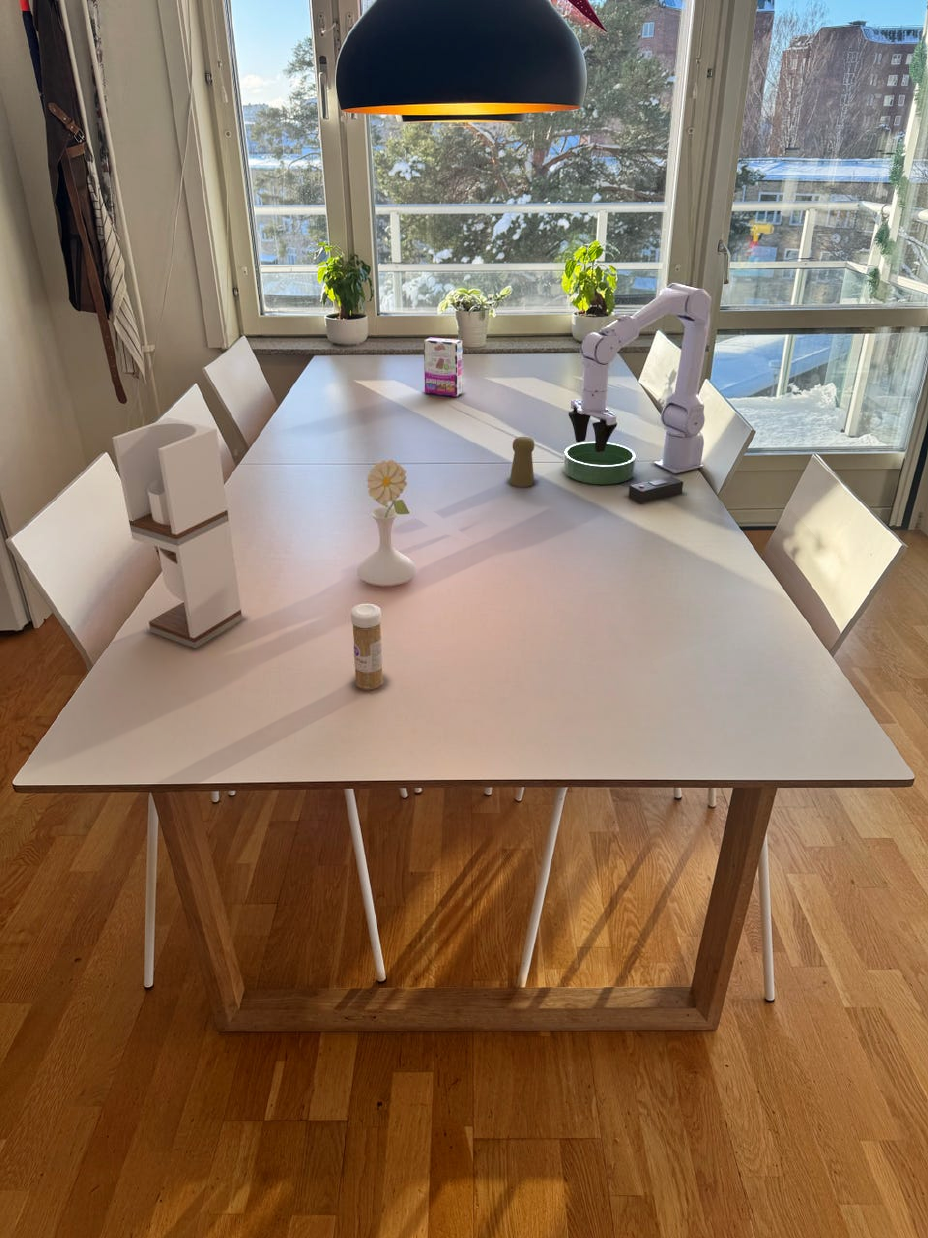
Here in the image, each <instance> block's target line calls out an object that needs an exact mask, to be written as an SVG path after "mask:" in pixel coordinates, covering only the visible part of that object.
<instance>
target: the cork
mask: <svg viewBox="0 0 928 1238" xmlns="http://www.w3.org/2000/svg"><path fill="white" fill-rule="evenodd" d="M512 450H513V451H514V453H513V458H512V465H511V471H510V476H509V484H510V485H512V486H514V487H519V488H526V487H527V488H528V487H531V486H533V485H534V484H535V476H534V474H535V473H534V463H533V462H534V461H533V451H534V450H535V441H534V439H532V438H531V437H528V436H518V437H516V438H515V439H514V440H513V441H512Z"/></svg>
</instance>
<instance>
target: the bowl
mask: <svg viewBox="0 0 928 1238" xmlns="http://www.w3.org/2000/svg"><path fill="white" fill-rule="evenodd" d="M563 455H564V456H563V473H564V474H565V475H566V476H568V477H569V478H571V479H573V480H575V481H578V482H581V483H584V484H585V483H586V484H588V485H599V486H603V485H604V486H605V485H606V486H608V485H615V484H620V483H624V482H626V481H628V480H630V479H632V478H633V476H634V474H635V469H636V468H635V467H636V460H637V459H636V458H637V455H636V453H635V452H634V451H633V450H632V449H631V448H628V447H626V446H624V445H620V444H617V443H612V442H607V445H606V448H605V450H604V451H602V452H596V450H595V441H586V442H585V441H584V442H577V443H575V444H572V445H570V446H568V447H566V449H565V450H564V454H563Z"/></svg>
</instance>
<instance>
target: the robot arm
mask: <svg viewBox="0 0 928 1238" xmlns="http://www.w3.org/2000/svg"><path fill="white" fill-rule="evenodd" d="M712 301H713V298H712V296H711V295H710V294H709V293H708V292H707V290H704V289H702V288H695V287H691V286H687V285H684V284H680V283H678V282H672V283H669V284H668V285H667V286H666V287H664V288H662V289H661V290H660V292H659V295H657V297H655V298H654V299H652V300H651V301H650V302H648V303H647V304H646V305H644V306H643V307H642V308H641V309H640V310H638V311H636V312H635V313H634V314H633V315H628V314H624V315H623V314H620V315H618V316H617V317H616V320H615V321H613V322H611V323H610V324H609V325H607V326H603V327H602V328H600V330H599V331H598V332H593V331H592V332H591V333H588V334H587V335H586V336H585V337H584V338H583V339H582V341H581V344H580V345H579V347H578V348H579V349H578V350H579V353H580V355H581V357H582V364H583V371H582V372H583V373H582V385H581V386H582V387H581V399H579V398H577V399H571V400H570V409H571V410H572V411H568V417H569V419H570V421H571V424H572V427H573V432H574V438H575V442H576V443H584V442H585V441H586V438H587V433H588V426H589V423H590V419H591V417H592V418H595V419H597V420H599V421H596V422H592V424H591V425H592V428H593V430H594V438H595V439H594V440H595V441H594V442H595V450H596V452H602V451H604V450H605V448H606V445H607V443H609V442H608V441H609V440H610V437H611V435H612V433H614V430H615V429H616V428H617V427H618V422H617V415H616V414H614V413H613V412H612V411H611V410H610V409H608V408H607V401H608V391H609V390H608V388H609V379H610V366H611V362H613V361H614V359H615V358H616V356H617V354H618V352H620V350H621V349H622V348H624V347H625V346H627V345H628V344H630V343H631V342H633V341H634V340H636V339H637V338H639V335H640V331H641V330H642V329H644V328H646V327H647V326H649V325H651V324H652V323H654V322H656V321H658V320H660V319H662V318H663V317H665V316H666V315H673V316H675V317H677V318H678V320H680V322H681V324H683V326H684V332H683V339H682V344H681V351H680V356H679V363H678V368H677V375H676V381H675V388H674V392H673V393H672V394H670V395H668V396H667V397H666V400H665V405H664V407H663V408H662V410H661V415H660V420H661V423H662V425H664V431H665V436H664V444H663V451H662V458H661V460H658V461H655V462H654V465H655V466H658V467H660V468H662V469H664V470H666V471H668V472H670V473H672V474H679V473H683V472H689V471H692V470H693V471H694V470H697V469H701V468H703V467H704V465H703V464H702V461H703V460H702V459H703V452H704V447H705V440H704V439H705V438H704V435H703V433H702V432H701V431H702V430H703V428H704V426H705V421H706V420H705V419H706V418H705V412H704V411H705V410H704V409H705V404H704V402H703V401H702V399H701V397H700V396H699V388H700V383H701V376H702V371H703V365H704V361H705V354H706V348H707V342H708V336H709V331H710V326H711V325H710V324H711V312H710V311H711V307H712Z"/></svg>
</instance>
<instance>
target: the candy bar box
mask: <svg viewBox="0 0 928 1238" xmlns="http://www.w3.org/2000/svg"><path fill="white" fill-rule="evenodd" d="M463 343H464V342H463V339H455V338H454V339H453V338H441V337H433V336H432V337H428V338H426V339H424V340H423V359H424V360H423V362H424V363H423V364H424V365H423V367H424V369H423V370H424V393H425V394H429V395H430V394H431V395H436V396H437V395H438V396H443V397H444V396H446V397H454V398H457V397H459V396H460V395H462V394H463V391H464V390H463V388H464V387H463V378H464V377H463V374H464V373H463V364H464V363H463V362H464V361H463V360H464V359H463V356H464V355H463V349H464V348H463V346H464V345H463Z"/></svg>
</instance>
